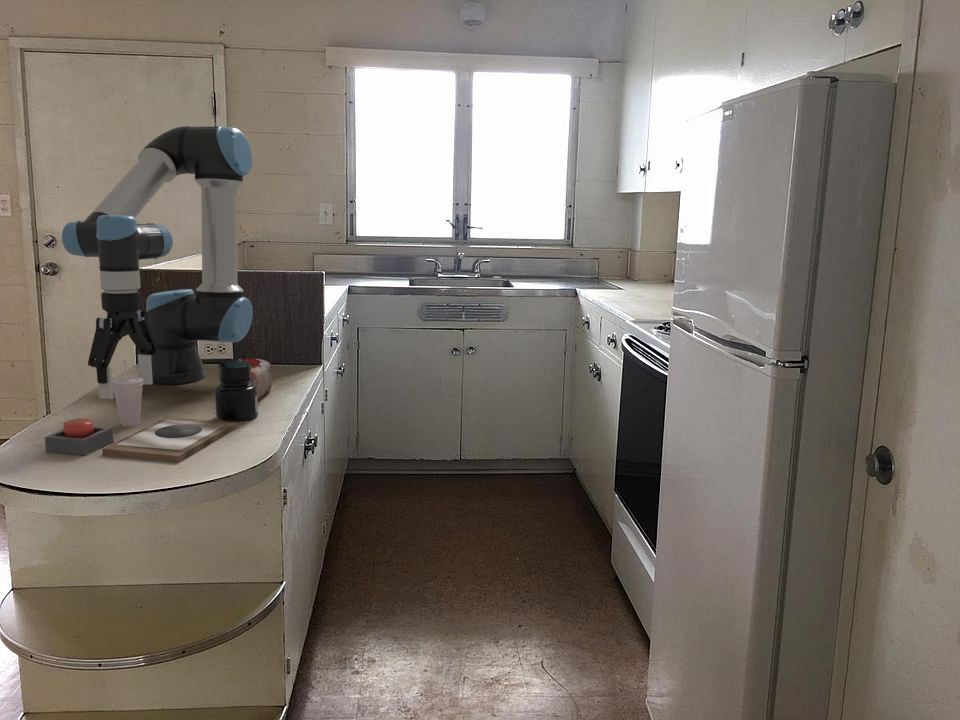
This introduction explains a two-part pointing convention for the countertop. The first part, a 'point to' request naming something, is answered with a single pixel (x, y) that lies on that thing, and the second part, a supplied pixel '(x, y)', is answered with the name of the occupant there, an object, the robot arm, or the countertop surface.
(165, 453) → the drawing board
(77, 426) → the button
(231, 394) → the ink bottle
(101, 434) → the button housing
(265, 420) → the countertop surface
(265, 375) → the food item
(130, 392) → the smoothie
